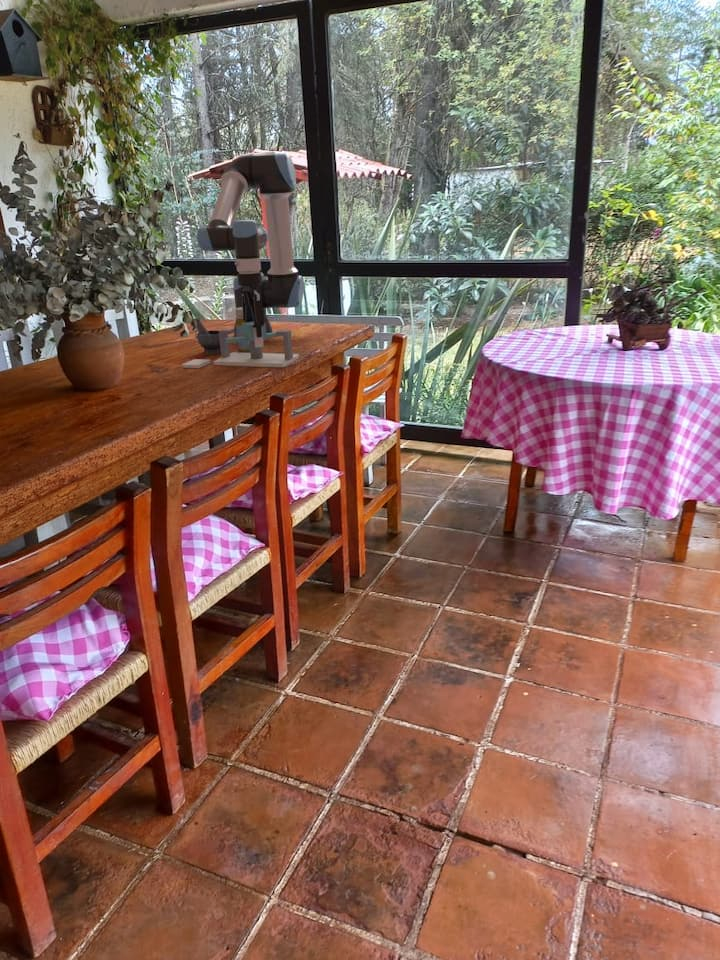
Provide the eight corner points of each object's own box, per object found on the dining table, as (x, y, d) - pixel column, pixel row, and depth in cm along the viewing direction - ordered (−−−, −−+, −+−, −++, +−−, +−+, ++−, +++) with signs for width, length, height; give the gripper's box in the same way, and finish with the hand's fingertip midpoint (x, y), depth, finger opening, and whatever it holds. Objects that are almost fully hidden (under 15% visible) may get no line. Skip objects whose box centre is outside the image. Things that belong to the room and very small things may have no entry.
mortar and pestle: (231, 349, 250) (227, 315, 245) (221, 355, 241) (217, 320, 237) (201, 349, 252) (197, 315, 247) (191, 354, 244) (186, 320, 239)
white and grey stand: (233, 355, 240) (229, 322, 235) (299, 357, 233) (297, 324, 229) (214, 365, 227) (210, 330, 223) (283, 367, 221) (280, 332, 216)
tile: (194, 362, 232) (194, 359, 232) (210, 362, 231) (210, 359, 230) (182, 367, 225) (182, 364, 225) (198, 368, 224) (198, 365, 223)
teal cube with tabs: (224, 341, 226) (222, 325, 224) (279, 334, 234) (277, 318, 232) (229, 344, 221) (228, 327, 219) (285, 336, 229) (284, 320, 227)
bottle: (254, 353, 242) (250, 309, 236) (235, 353, 243) (231, 309, 238) (261, 349, 248) (257, 306, 242) (242, 349, 250) (238, 306, 244)
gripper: (228, 270, 226) (235, 342, 234) (247, 275, 210) (254, 351, 219) (250, 269, 229) (256, 339, 238) (271, 273, 213) (277, 348, 222)
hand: (255, 345), depth 228 cm, fingers closed on teal cube with tabs, 6 cm apart
